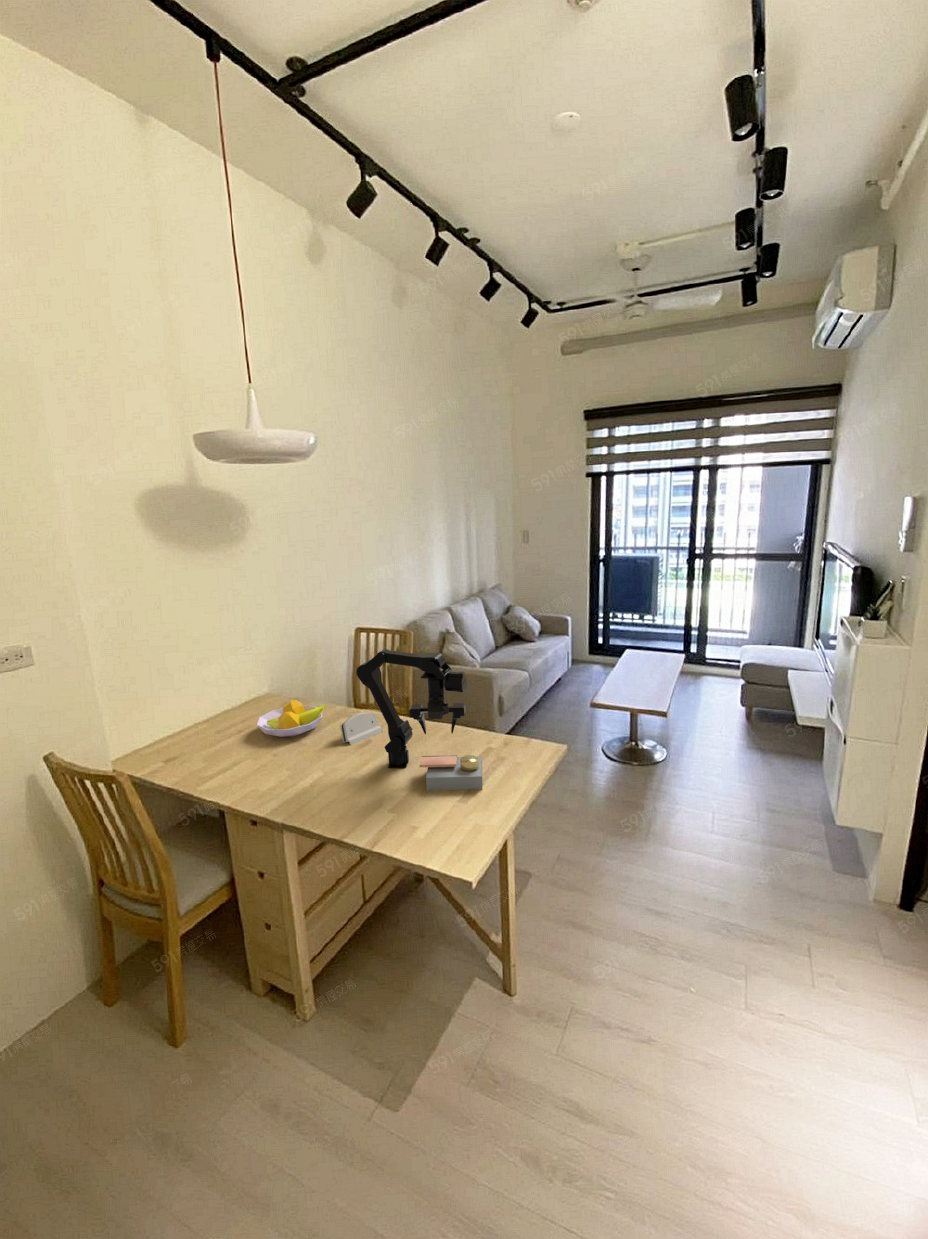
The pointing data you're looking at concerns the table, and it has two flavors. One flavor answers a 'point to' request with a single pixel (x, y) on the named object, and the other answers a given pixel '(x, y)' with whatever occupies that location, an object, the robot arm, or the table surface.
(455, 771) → the hitch block
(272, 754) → the table surface
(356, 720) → the hinge
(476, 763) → the tan shiny rounded piece
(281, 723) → the fruit bowl
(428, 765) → the latch flap
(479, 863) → the table surface
